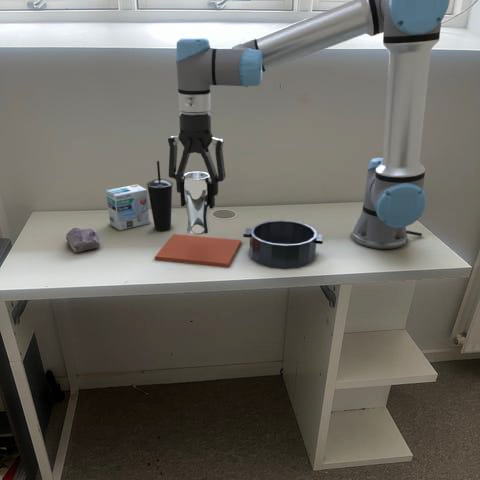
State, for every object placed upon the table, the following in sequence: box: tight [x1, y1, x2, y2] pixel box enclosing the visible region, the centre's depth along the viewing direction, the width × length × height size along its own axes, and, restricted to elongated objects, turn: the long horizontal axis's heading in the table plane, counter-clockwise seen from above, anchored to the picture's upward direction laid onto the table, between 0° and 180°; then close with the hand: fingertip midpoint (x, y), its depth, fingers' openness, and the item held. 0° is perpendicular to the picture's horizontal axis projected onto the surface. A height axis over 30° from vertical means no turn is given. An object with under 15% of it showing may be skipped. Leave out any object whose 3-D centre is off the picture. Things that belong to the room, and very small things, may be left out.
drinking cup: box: [146, 160, 174, 232], centre depth 148 cm, size 8×8×20 cm
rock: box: [65, 227, 101, 254], centre depth 140 cm, size 8×11×5 cm
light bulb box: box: [105, 183, 150, 231], centre depth 153 cm, size 11×7×11 cm, turn 128°
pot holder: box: [154, 233, 242, 268], centre depth 139 cm, size 20×16×1 cm
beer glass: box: [183, 171, 211, 236], centre depth 132 cm, size 7×7×15 cm
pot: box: [242, 219, 325, 270], centre depth 136 cm, size 21×18×6 cm
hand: (197, 205), depth 132 cm, fingers closed on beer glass, 7 cm apart
